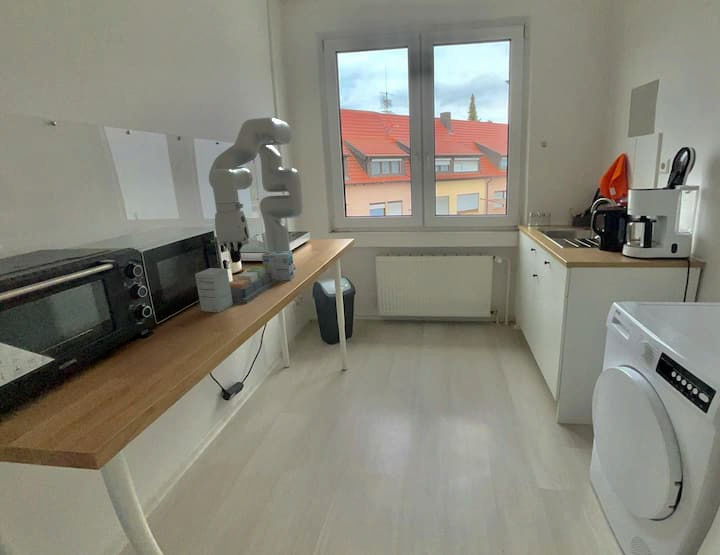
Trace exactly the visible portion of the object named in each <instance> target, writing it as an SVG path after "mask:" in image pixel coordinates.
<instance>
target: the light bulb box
mask: <svg viewBox="0 0 720 555" xmlns="http://www.w3.org/2000/svg"><path fill="white" fill-rule="evenodd" d="M261 259H262V266H263V267H262V268H265V270H266V273H271V278H272V279H276V282H277V281H279V282H281V281H286V282H287V281H292V280H293V278H294V277H295V276H296V275H295V269H294V265H293V264H294V257H293V250H290V251H279V252H268V251H266V252H264V253H263V254H261Z"/></svg>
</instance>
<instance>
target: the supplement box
mask: <svg viewBox="0 0 720 555" xmlns="http://www.w3.org/2000/svg"><path fill="white" fill-rule="evenodd" d="M228 271H229V270H228V268H218V267H217V268H215V267H213V268H211V267H210V268H206V269H205V270H202V271H199V272H196V273H195V274H194V276H195V282H196V287H197V292H198V297H199V298H198V299H199V304H200V310H201V311H202V312H211V313H221V312H223V311H224V310H226V309H228V308H230V307H232V306H233V305H234V303H233V301H232V295H231V289H230V283H231V282H230V277H229V272H228Z"/></svg>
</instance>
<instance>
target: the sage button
mask: <svg viewBox="0 0 720 555" xmlns="http://www.w3.org/2000/svg"><path fill="white" fill-rule="evenodd" d="M246 272H257V276H258V278H261V277H262V276H264V275H266V270H265V268H263V267H252V268H250V269H248V270H246Z"/></svg>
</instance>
